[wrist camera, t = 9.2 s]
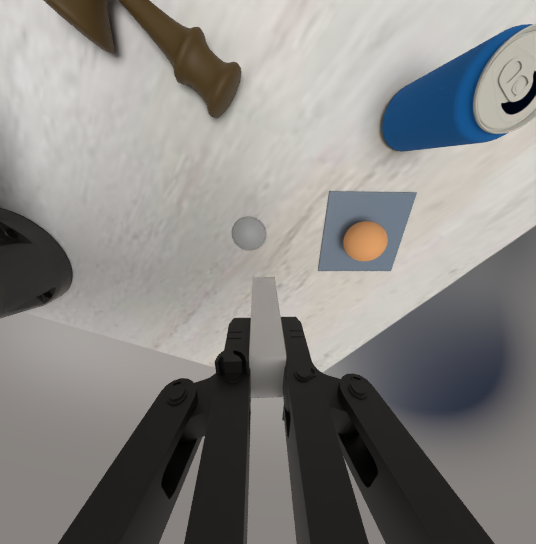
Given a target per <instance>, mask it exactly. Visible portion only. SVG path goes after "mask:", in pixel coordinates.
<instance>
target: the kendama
mask: <svg viewBox="0 0 536 544" xmlns="http://www.w3.org/2000/svg"><path fill="white" fill-rule="evenodd" d="M44 1H45V2H46V3H47V4H48V5H49V6H50V7H51V8H53V9H54V10H55V11H56V12H57V13H58V14H59V15H60V16H62V17H63V18H64V19H65V20H66V21H68V22H69V23H70V24H71V25H72V26H74V27H75V28H76V29H77V30H78V31H80V32H81V33H82V34H83V35H84V36H86V37H87V38H88V39H90V40H91V41H92V42H94V43H95V44H96V45H98V46H99V47H100V48H102V49H103V50H105V51H107V52H108V53H111V54H113V53H114V43H113V38H112V33H111V28H110V23H109V17H108V11H107V1H108V0H44ZM119 1H120V2H121V3H122V4H123V6H124V7H125V8H126V9H127V10H128V11H129V12H130V13H131V14H132V16H133V17H134V18H135V19H136V20H137V21H138V23H139V24H140V25H141V26H142V27H143V28H144V30H145V31H146V32H147V33H148V34H149V35H150V37H151V38H152V39H153V40H154V41H155V43H156V44H157V45H158V46H159V48H160V49H161V50H162V51H163V53H164V54H165V55H166V57H167V58H168V59H169V61H170V62H171V64H172V66H173V68H174V74H175V77H176V79H177V81H178V82H179V83H182V84H188V85H190V86H191V87H193V88H194V89H195V90H196V91H197V92H198V93H199V95H200V96H201V97H202V98H203V100H204V101H205V103H206V105H207V108H208V112H209V114H210V116H212V117H214V118H217V117H219V116H220V115H221V114H222V113H223V112H224V111H225V110H226V109H227V108H228V106H229V105H230V103H231V101H232V100H233V98H234V96H235V94H236V91H237V88H238V86H239V83H240V79H241V68H240V66H239V65H238V63H236V62H231V63H226V62H223V61H222V60H220V59H219V58H218V57H217V56H216V55H215V54H214V53H213V52H212V51H211V50H210V49H209V47H208V45H207V43H206V40H205V36H204V33H203V32H202V30H201V29H200V28H199V27H193V28H191V29H189V28H186V27H184V26H182V25H181V24H179V23H178V22H176V21H175V20H173V19H172V18H171V17H169V16H168V15H167V14H165V13H164V12H163V11H162V10H160V9H159V8H158V7H157V6H155V5H154V4H153V3H152V2H150V1H149V0H119Z"/></svg>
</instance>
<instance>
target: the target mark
mask: <svg viewBox="0 0 536 544" xmlns="http://www.w3.org/2000/svg"><path fill="white" fill-rule="evenodd" d="M416 194H417V193H409V192H339V191H329V198H328V205H327V212H326V219H325V225H324V232H323V239H322V246H321V253H320V260H319V267H318V271H391V269H392V266H393V263H394V260H395V257H396V254H397V251H398V248H399V245H400V242H401V239H402V236H403V233H404V230H405V227H406V224H407V221H408V218H409V215H410V212H411V209H412V206H413V203H414V200H415V197H416ZM362 221H371V222H375V223H377V224H379V225H380V226H382V227H383V228H384V230H385V231H386V234H387V238H388V242H387V246H386V249H385V250H384V252H383V253H382V254H381V255H380V256H379V257H377V258H376V259H374V260H371V261H358V260H355V259H353V258H351V257H350V256H349V255H348V254H347V253H346V251H345V249H344V245H343V241H344V236H345V234H346V232H347V231H348V229H349V228H350V227H351V226H353V225H354V224H356V223H359V222H362Z"/></svg>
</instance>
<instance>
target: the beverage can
mask: <svg viewBox="0 0 536 544" xmlns="http://www.w3.org/2000/svg"><path fill="white" fill-rule="evenodd" d="M535 117H536V24H534V25H532V24H528V25H520V26H516V27H512V28H510V29H507V30H505V31H503V32H502V33H500V34H498V35H496V36H494V37H493V38H491V39H489V40H487V41H485V42H484V43H482V44H480V45H478V46H477V47H475V48H473V49H471V50H469V51H468V52H466V53H464V54H462V55H461V56H459V57H457V58H455V59H453V60H452V61H450V62H448V63H446V64H444V65H443V66H441V67H439V68H437V69H436V70H434V71H432V72H430V73H428V74H427V75H425V76H423V77H421V78H419V79H418V80H416V81H414V82H412V83H411V84H409V85H407V86H405V87H404V88H402V89H401V90H400V91H399V92H398V93H397V94H396V95H395V96H394V97H393V98H392V100H391V101H390V103H389V105H388V107H387V109H386V111H385V114H384V117H383V123H382V132H383V136H384V139H385V141H386V143H387V144H388V145H389V146H390V147H391V148H392V149H394V150H397V151H411V150H420V149H429V148H438V147H447V146H456V145H465V144H474V143H483V142H488V141H491V140H494V139H497V138H499V137H501V136H503V135H505V134H507V133H509V132H511V131H514V130H517V129H519V128H521V127H522V126H524V125H526V124H527V123H529V122H530V121H531V120H533V119H534V118H535Z"/></svg>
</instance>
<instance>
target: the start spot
mask: <svg viewBox="0 0 536 544" xmlns="http://www.w3.org/2000/svg"><path fill="white" fill-rule="evenodd" d="M232 237H233V240H234V242H235V243H236V244H237V246H239V247H240V248H242V249H244V250H255V249H257V248H259V247H260V246H262V244H263V243H264V241H265V239H266V229H265V227H264V225H263V223H262V222H261V221H260V220H258V219H256V218H254V217H244V218H241V219H239V220H238V221H237V222H236V223H235V225H234V226H233V229H232Z"/></svg>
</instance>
